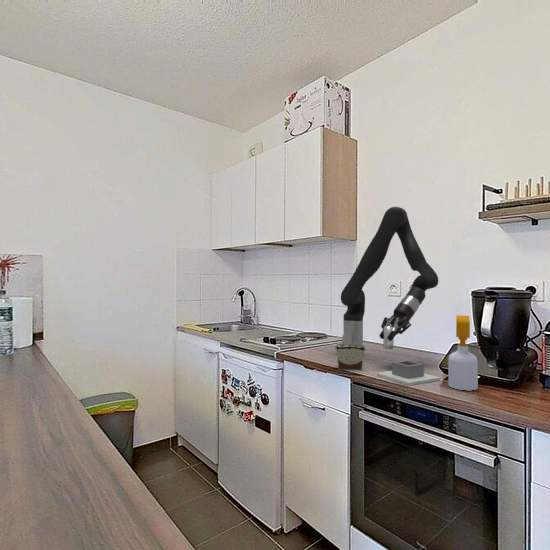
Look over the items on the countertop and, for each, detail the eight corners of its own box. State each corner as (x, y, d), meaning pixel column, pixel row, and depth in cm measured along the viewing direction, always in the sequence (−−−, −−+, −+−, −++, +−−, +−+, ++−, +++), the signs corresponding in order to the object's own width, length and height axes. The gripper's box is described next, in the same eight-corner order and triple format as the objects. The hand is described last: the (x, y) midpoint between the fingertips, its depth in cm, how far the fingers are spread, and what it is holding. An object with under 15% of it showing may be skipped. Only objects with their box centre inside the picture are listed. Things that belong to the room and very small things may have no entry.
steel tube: (381, 347, 160) (381, 325, 160) (388, 346, 162) (388, 325, 162) (388, 349, 157) (388, 327, 157) (395, 348, 159) (395, 326, 158)
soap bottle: (476, 385, 134) (476, 315, 134) (478, 392, 126) (478, 317, 126) (448, 382, 138) (448, 314, 138) (448, 389, 130) (448, 316, 130)
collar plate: (376, 375, 148) (376, 361, 148) (406, 371, 155) (406, 357, 155) (408, 385, 134) (408, 369, 134) (440, 380, 141) (440, 365, 141)
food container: (363, 367, 162) (363, 343, 162) (365, 370, 156) (365, 345, 156) (334, 366, 163) (334, 342, 163) (334, 369, 157) (334, 345, 157)
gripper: (390, 301, 169) (368, 330, 163) (415, 303, 156) (392, 335, 151) (398, 312, 172) (377, 341, 166) (424, 316, 159) (402, 347, 153)
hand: (385, 338), depth 158 cm, fingers closed on steel tube, 4 cm apart
